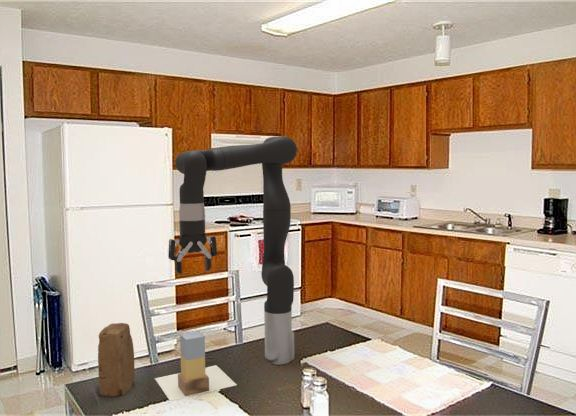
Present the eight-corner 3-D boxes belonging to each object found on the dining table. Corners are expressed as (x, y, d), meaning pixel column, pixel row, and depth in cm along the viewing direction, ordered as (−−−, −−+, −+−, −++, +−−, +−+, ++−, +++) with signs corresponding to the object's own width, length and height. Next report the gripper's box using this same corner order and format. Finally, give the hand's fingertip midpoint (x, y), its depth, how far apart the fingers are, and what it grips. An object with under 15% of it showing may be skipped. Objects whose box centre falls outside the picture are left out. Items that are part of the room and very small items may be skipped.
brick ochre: (199, 370, 148) (198, 350, 147) (205, 376, 143) (204, 356, 142) (181, 374, 145) (180, 354, 144) (186, 381, 140) (186, 360, 140)
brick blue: (198, 350, 147) (198, 330, 147) (205, 356, 142) (204, 336, 142) (180, 354, 144) (180, 334, 144) (186, 360, 140) (185, 339, 139)
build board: (216, 368, 161) (216, 365, 161) (237, 388, 147) (237, 384, 146) (154, 382, 152) (154, 378, 152) (170, 405, 137) (170, 400, 137)
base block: (201, 381, 149) (200, 368, 149) (209, 390, 143) (208, 377, 142) (178, 386, 146) (177, 373, 145) (185, 396, 139) (185, 382, 139)
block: (121, 401, 139) (119, 332, 138) (96, 400, 140) (93, 331, 139) (138, 384, 150) (136, 320, 148) (115, 383, 151) (112, 319, 149)
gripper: (210, 216, 154) (211, 267, 155) (165, 218, 147) (166, 272, 148) (219, 218, 147) (220, 271, 149) (172, 220, 141) (173, 277, 142)
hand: (193, 272), depth 149 cm, fingers open, 8 cm apart
